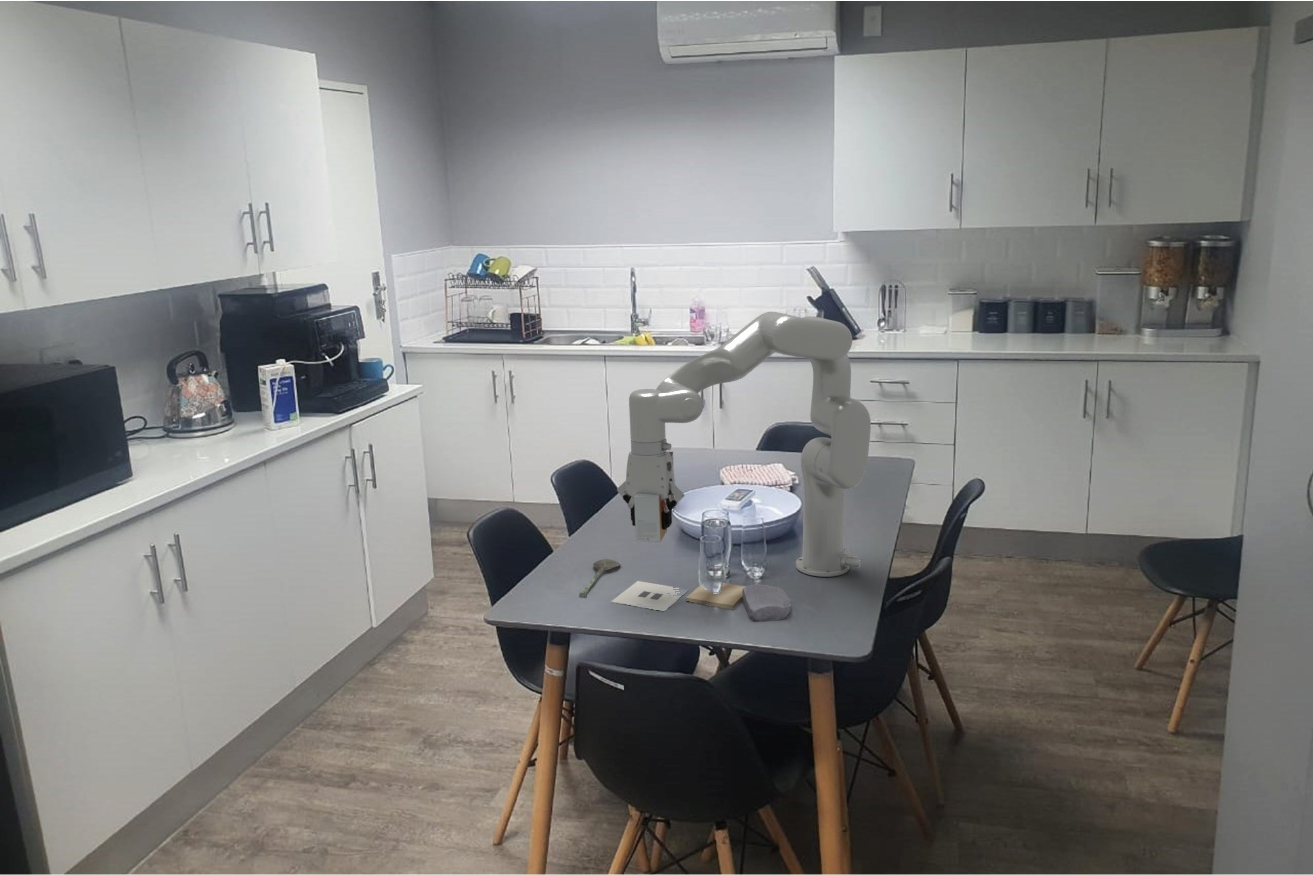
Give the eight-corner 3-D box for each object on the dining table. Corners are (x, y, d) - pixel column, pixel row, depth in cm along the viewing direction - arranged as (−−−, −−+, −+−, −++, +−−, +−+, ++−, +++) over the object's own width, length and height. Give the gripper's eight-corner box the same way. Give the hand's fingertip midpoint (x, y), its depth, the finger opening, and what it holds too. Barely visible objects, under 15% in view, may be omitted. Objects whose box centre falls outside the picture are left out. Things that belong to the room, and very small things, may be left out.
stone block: (781, 605, 219) (737, 599, 217) (785, 585, 217) (742, 579, 216) (793, 630, 207) (747, 624, 206) (798, 609, 206) (752, 603, 205)
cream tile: (689, 590, 223) (689, 589, 223) (664, 612, 211) (664, 611, 211) (637, 581, 228) (637, 580, 228) (611, 602, 217) (611, 601, 217)
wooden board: (750, 591, 221) (750, 587, 221) (732, 609, 212) (732, 605, 212) (705, 584, 226) (705, 579, 226) (686, 601, 217) (686, 597, 216)
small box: (660, 543, 212) (659, 496, 210) (635, 542, 213) (633, 496, 211) (667, 530, 220) (666, 485, 217) (643, 530, 221) (641, 485, 218)
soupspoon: (624, 567, 240) (599, 567, 242) (623, 554, 239) (597, 554, 241) (596, 599, 219) (568, 598, 221) (595, 585, 218) (567, 584, 220)
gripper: (692, 445, 211) (694, 525, 216) (620, 439, 219) (624, 516, 223) (677, 454, 205) (680, 536, 209) (604, 448, 212) (608, 526, 216)
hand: (651, 525), depth 216 cm, fingers closed on small box, 6 cm apart
